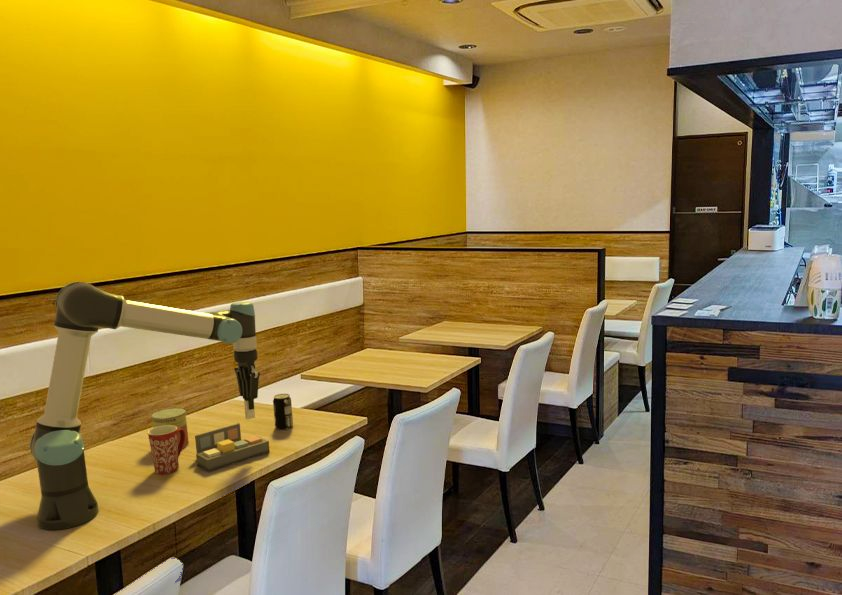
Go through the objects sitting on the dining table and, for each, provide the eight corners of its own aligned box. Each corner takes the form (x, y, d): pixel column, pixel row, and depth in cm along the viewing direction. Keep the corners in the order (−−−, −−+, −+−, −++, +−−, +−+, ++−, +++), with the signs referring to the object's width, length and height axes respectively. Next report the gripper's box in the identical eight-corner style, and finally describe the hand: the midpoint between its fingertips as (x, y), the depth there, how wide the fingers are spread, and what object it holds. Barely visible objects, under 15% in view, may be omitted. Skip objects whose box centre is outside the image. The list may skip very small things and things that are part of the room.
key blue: (238, 456, 234) (237, 446, 233) (232, 453, 236) (231, 443, 236) (249, 452, 236) (248, 442, 236) (243, 449, 239) (242, 439, 239)
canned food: (148, 451, 246) (145, 418, 244) (165, 440, 257) (162, 408, 255) (178, 452, 244) (175, 418, 242) (194, 440, 255) (191, 408, 253)
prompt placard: (198, 459, 236) (196, 436, 235) (197, 458, 237) (194, 435, 236) (241, 445, 247) (239, 423, 246) (240, 445, 248) (238, 423, 247)
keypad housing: (208, 472, 225) (207, 460, 224) (197, 465, 231) (196, 454, 230) (269, 452, 239) (268, 441, 239) (257, 446, 245) (256, 435, 244)
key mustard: (223, 455, 230) (222, 445, 229) (217, 452, 233) (216, 442, 232) (234, 452, 233) (234, 442, 232) (229, 449, 236) (228, 439, 235)
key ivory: (209, 465, 227) (208, 454, 226) (204, 462, 230) (203, 451, 229) (221, 461, 230) (220, 451, 229) (215, 458, 232) (214, 448, 232)
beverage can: (274, 425, 267) (271, 394, 265) (292, 423, 269) (289, 392, 267) (276, 431, 261) (273, 399, 259) (294, 428, 263) (291, 397, 261)
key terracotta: (251, 451, 237) (250, 441, 236) (245, 449, 240) (244, 439, 239) (262, 448, 240) (261, 438, 239) (256, 445, 242) (255, 435, 242)
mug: (164, 477, 222) (159, 436, 220) (145, 472, 227) (141, 432, 225) (196, 463, 233) (192, 423, 231) (177, 459, 238) (173, 420, 235)
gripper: (265, 349, 232) (270, 419, 236) (245, 344, 242) (250, 411, 245) (244, 353, 227) (250, 424, 231) (225, 348, 237) (230, 416, 240)
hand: (250, 418), depth 238 cm, fingers closed
